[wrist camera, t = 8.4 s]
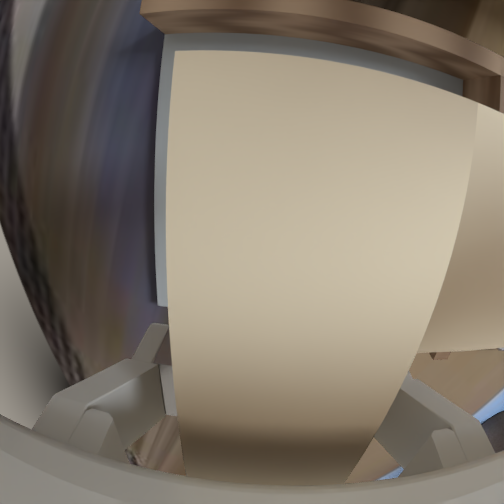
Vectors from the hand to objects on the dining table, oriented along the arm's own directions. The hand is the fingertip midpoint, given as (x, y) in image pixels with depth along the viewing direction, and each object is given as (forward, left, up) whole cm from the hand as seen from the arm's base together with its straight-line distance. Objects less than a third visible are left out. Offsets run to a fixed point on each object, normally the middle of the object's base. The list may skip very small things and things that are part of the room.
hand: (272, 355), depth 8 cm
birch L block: (-2, -2, -2) cm, 3 cm away
